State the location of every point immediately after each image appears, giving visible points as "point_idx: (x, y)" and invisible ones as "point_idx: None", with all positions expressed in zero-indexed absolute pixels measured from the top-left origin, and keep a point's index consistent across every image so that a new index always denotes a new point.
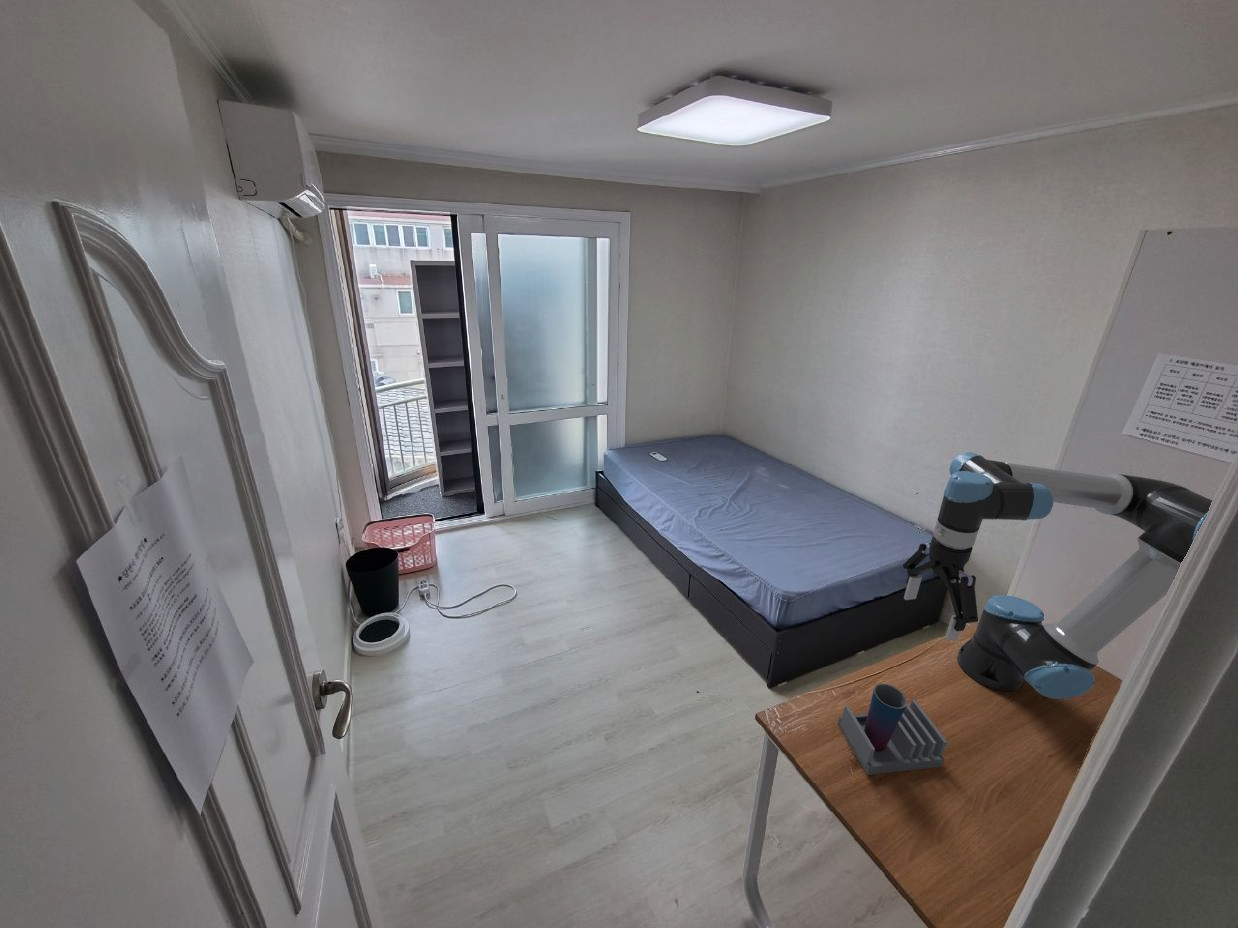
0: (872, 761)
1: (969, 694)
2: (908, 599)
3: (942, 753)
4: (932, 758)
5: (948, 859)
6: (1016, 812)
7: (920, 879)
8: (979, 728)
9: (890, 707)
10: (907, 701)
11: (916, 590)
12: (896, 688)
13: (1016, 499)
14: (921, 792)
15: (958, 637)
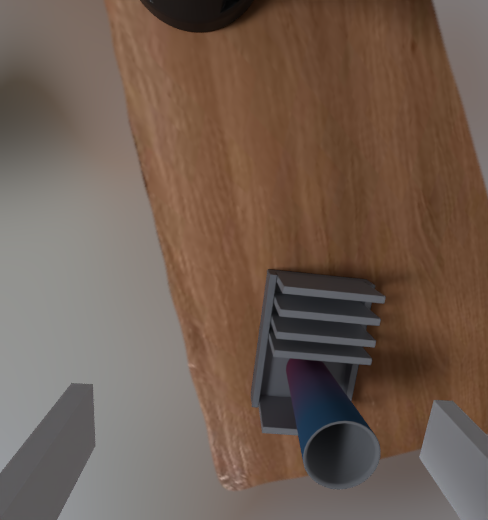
0: None
1: (251, 82)
2: (93, 431)
3: (370, 286)
4: (367, 305)
5: (469, 369)
6: (461, 219)
7: (472, 417)
8: (325, 140)
9: (368, 473)
10: (367, 428)
11: (54, 456)
12: (325, 426)
13: None
14: (388, 340)
15: (461, 410)
